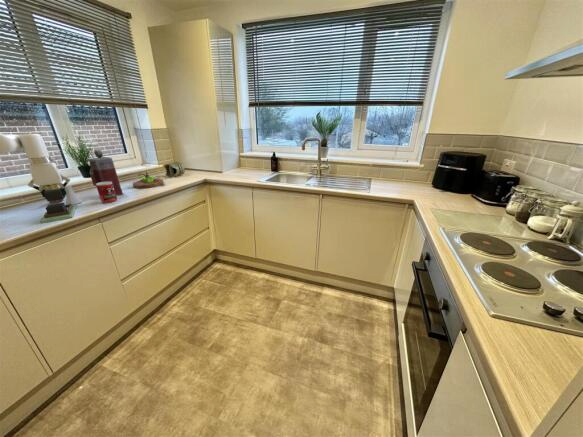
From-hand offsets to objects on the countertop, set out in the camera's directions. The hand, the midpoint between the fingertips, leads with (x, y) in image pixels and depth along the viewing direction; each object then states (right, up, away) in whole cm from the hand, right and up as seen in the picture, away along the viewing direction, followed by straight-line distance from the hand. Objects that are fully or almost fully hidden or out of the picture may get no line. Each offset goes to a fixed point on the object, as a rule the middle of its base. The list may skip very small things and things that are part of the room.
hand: (55, 196), depth 121 cm
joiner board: (+2, -9, +1) cm, 9 cm away
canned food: (+13, -1, +20) cm, 23 cm away
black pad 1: (0, -1, 0) cm, 1 cm away
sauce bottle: (-20, -1, +21) cm, 29 cm away
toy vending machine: (+4, +3, +31) cm, 31 cm away
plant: (+15, +14, +55) cm, 59 cm away
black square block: (+4, -9, -2) cm, 10 cm away
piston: (+21, +25, +83) cm, 89 cm away
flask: (-6, -2, +17) cm, 19 cm away
